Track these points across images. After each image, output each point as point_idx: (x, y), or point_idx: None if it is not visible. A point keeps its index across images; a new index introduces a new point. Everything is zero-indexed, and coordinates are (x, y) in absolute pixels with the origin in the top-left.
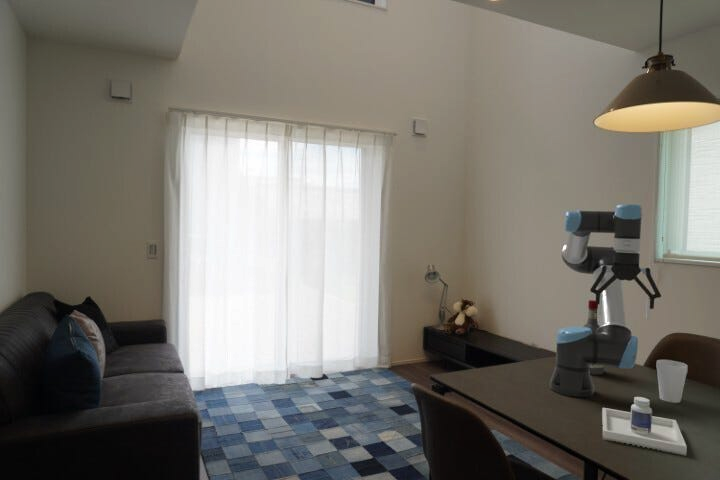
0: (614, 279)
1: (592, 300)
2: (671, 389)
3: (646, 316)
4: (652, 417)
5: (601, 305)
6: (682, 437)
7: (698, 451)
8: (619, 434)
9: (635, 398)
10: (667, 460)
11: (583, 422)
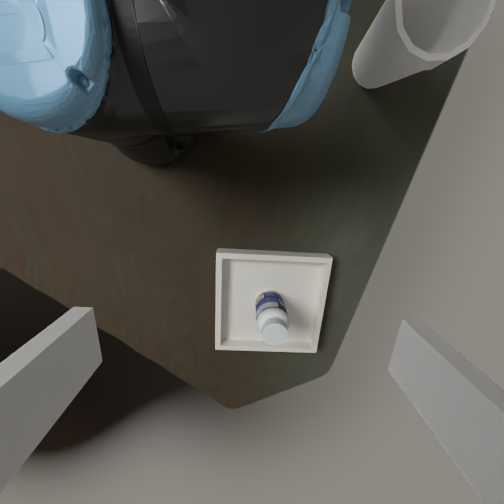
0: None
1: None
2: (384, 81)
3: (400, 378)
4: (296, 261)
5: (38, 436)
6: (320, 326)
7: (333, 324)
8: (236, 349)
9: (263, 336)
10: (286, 364)
11: (189, 294)
